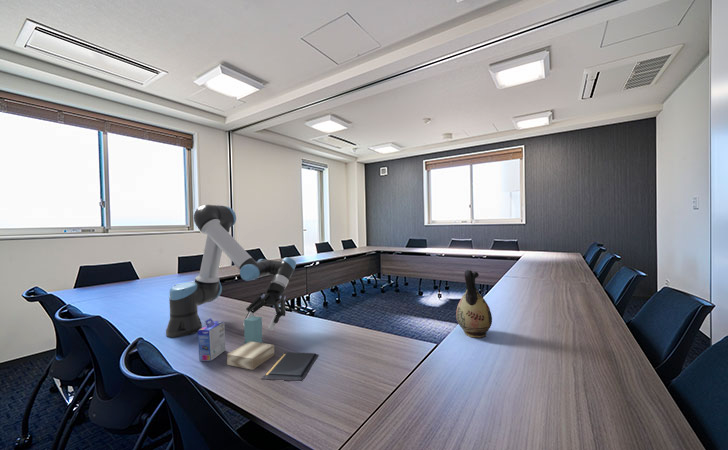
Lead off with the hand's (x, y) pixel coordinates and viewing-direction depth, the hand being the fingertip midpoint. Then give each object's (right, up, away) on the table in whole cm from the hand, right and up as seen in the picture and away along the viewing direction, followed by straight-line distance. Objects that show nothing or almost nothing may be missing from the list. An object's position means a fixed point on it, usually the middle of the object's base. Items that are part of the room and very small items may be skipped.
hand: (257, 328), depth 121 cm
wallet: (+20, -8, -18) cm, 28 cm away
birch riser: (+3, -7, -13) cm, 15 cm away
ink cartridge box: (-15, -8, -9) cm, 19 cm away
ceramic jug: (+97, -6, +7) cm, 97 cm away
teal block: (-1, -7, -1) cm, 8 cm away
